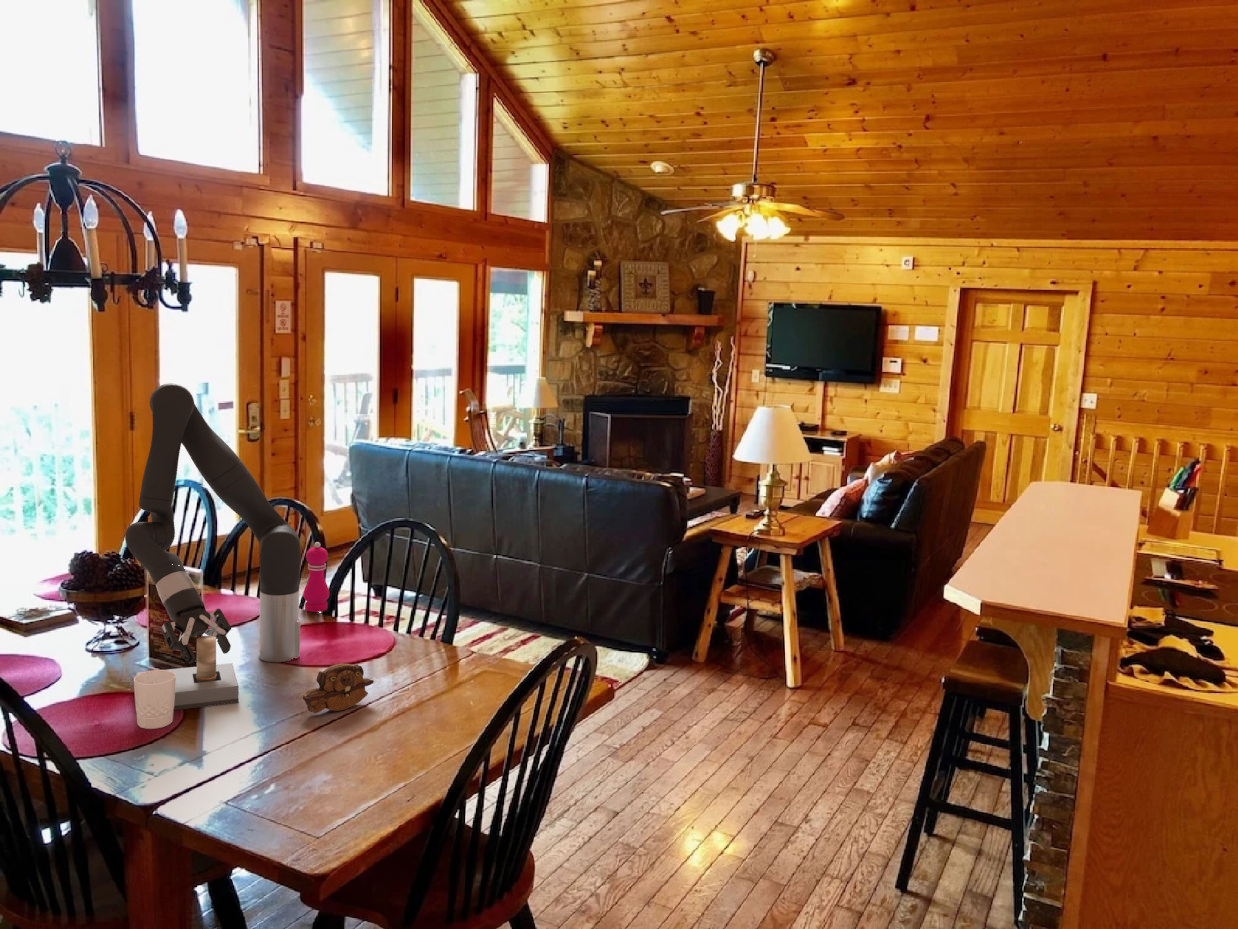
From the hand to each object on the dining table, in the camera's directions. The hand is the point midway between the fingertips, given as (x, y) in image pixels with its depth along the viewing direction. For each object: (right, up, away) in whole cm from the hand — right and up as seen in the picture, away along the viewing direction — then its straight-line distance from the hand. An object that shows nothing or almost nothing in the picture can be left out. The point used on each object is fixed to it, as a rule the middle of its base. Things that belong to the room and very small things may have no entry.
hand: (210, 656), depth 214 cm
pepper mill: (+3, +1, +64) cm, 65 cm away
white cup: (-6, -11, -13) cm, 18 cm away
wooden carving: (+29, -12, -1) cm, 31 cm away
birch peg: (-2, -8, +2) cm, 8 cm away
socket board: (-5, -9, 0) cm, 10 cm away
